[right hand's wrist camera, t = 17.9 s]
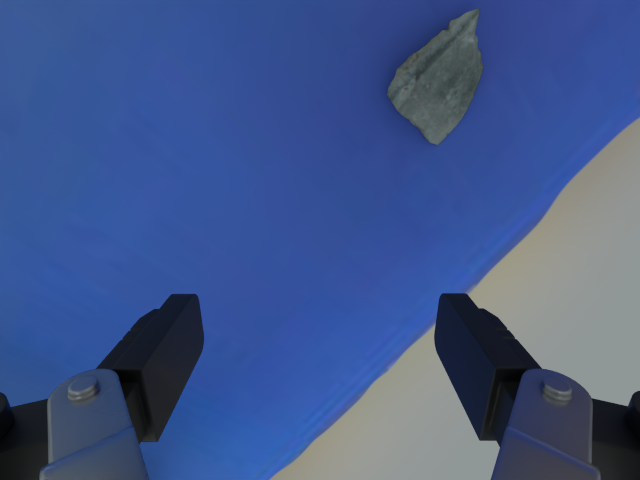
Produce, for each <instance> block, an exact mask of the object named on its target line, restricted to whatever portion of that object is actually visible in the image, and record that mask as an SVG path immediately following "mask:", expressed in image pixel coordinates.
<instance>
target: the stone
mask: <svg viewBox="0 0 640 480" xmlns="http://www.w3.org/2000/svg"><path fill="white" fill-rule="evenodd" d="M479 13H480V9H478V8H477V9H475V10H473V11H469V12H466V13H464V14H463V15H462V16H461V17H459V18H457V19H454V20H451V21H450V23H449V25H448V28H447V30H442V31H441V32H440V33H439V34H438V35H437V36H435V37H434V38H433V39H431V40H430V42H429V43H427V44H426V45H425V46H424V47H422V48H421V49H420V50H419V51H417V52H415V53H413V54H412V55H411V56H409V57H408V58H407V60H406V61H405V62H404V63H403V64H402V65H401V66H399V67H398V68H397V71H396V75H395V77H394V79H393V80H392V82H391V84H390V86H389V89H388V93H387V96H388V97H389V99H390V100H391V102H392V104H393V105H394V107H395V108H396V109H397V111H398V112H399V113H400V114H401V115H403V116H404V117H405V118H406V119H409V121H410V122H411V123H412V124H413V125H414V126H416V127H417V128H418V129H419V130H420V131H421V133H422V134H423V135H424V137H425V138H426V139H427V140H428V141H429V142H430V143H431V144H432V143H433V144H436V145H439V144H440V143H441V142H442V141H443V139H444V138H445V137H446V136H447V135H448V134H449V133H450V132H451V131H452V130H453V129H454V128H455V126H456V125H457V124H458V123H459V121H460V120H461V118H462V117H463V115H464V114H465V112H466V111H467V109H468V107H469V105H470V103H471V101H472V99H473V96H474V94H475V91H476V89H477V86H478V83H479V80H480V77H481V74H482V72H483V69H484V66H483V64H482V61H481V56H482V55H481V52H480V50H479V49H477V42H478V38H477V37H476V35H475V30H476V26H477V20H478V17H479Z"/></svg>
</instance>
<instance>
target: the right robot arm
mask: <svg viewBox="0 0 640 480" xmlns="http://www.w3.org/2000/svg"><path fill="white" fill-rule="evenodd" d="M434 340H435V347H436V351H437V354H438V356H439V358H440V360H441V362H442V364H443V366H444V368H445V370H446V372H447V374H448V376H449V378H450V380H451V383H452V385H453V387H454V389H455V391H456V393H457V395H458V397H459V399H460V401H461V403H462V405H463V407H464V409H465V411H466V413H467V415H468V417H469V420H470V422H471V424H472V426H473V428H474V430H475V432H476V434H477V436H478V438H479V440H480V441H497V443H498V444H499V446H500V450H499V453H498V457H497V460H496V464H495V467H494V470H493V474H492V477H491V480H640V391H637V392H635V393H634V394H633V395H632V398H631V400H630V403H629V405H628V406H624V405H619V404H615V403H610V402H606V401H601V400H597V399H592V398H591V396H590V395H589V393H588V392H587V391H586V390H585V389H584V388H583V387H582V386H581V385H580V384H578V383H577V382H576V381H574V380H572V379H571V378H569V377H567V376H565V375H563V374H560V373H558V372H554V371H551V370H547V369H542V368H541V367H540V366H539V365H538V363H537V362H536V361H535V360H534V359H533V358H532V357H531V355H530V354H529V353H528V352H527V351H526V350H525V348H524V347H523V346H522V345H521V344H520V343H519V341H518V340H517V339H515V337H514V336H513V334H512V333H511V332H510V331H509V330H507V328H506V326H505V325H504V324H503V323H502V322H501V321H500V319H499V318H498V317H496V316H495V315H493V314H491V313H490V312H488V311H487V310H485V309H479V308H478V307H477V306H476V305H475V303H474V302H473V301H472V300H471V299H470V297H469V296H468V295H467V294H465V293H443V294H441V296H440V299H439V305H438V312H437V319H436V326H435V334H434ZM203 343H204V332H203V325H202V318H201V311H200V304H199V299H198V296H197V295H196V294H172V295H170V297H169V298H168V299H167V300H166V301H165V303H164V304H163V305H162V306H161V308H160V309H154V310H152V311H151V312H149V313H147V314H146V315H144V316H143V317H141V318H140V319H139V320H138V321H137V322H136V323H135V324H134V326H133V327H132V328H131V331H128V332H127V334H126V335H125V336H124V337H123V340H121V341H120V342H119V343H118V344H117V345H116V346H115V347H114V349H113V350H112V351H111V352H110V353H109V354H108V355H107V357H106V358H105V359H104V360H103V361H102V362H101V363H100V365H99V366H98V367H97V368H96V369H93V370H89V371H85V372H82V373H80V374H77V375H75V376H73V377H71V378H69V379H68V380H66V381H64V382H63V383H62V384H60V385H59V386H58V387H57V388H56V389H55V390H54V391H53V392H52V393H51V395H50V396H49V399H45V400H41V401H37V402H32V403H28V404H23V405H19V406H14V407H10V405H9V402H8V400H7V398H6V396H5V395H4V394H3V393H1V392H0V480H149V477H148V474H147V470H146V467H145V464H144V460H143V457H142V453H141V450H140V447H139V444H140V442H158V440H159V438H160V436H161V434H162V432H163V430H164V428H165V426H166V424H167V422H168V420H169V418H170V416H171V414H172V412H173V410H174V408H175V406H176V404H177V402H178V400H179V398H180V395H181V393H182V391H183V389H184V387H185V385H186V383H187V381H188V379H189V377H190V375H191V373H192V371H193V369H194V367H195V365H196V363H197V361H198V359H199V357H200V355H201V352H202V349H203Z"/></svg>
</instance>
